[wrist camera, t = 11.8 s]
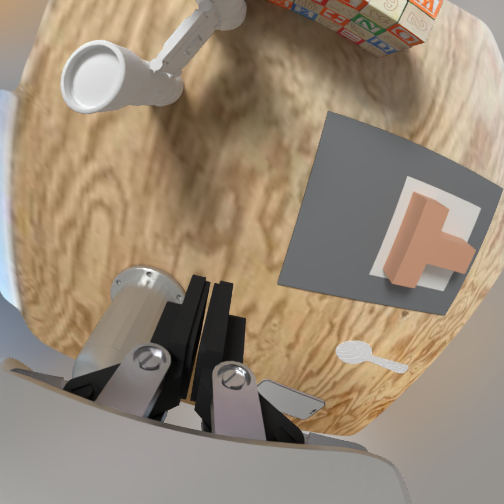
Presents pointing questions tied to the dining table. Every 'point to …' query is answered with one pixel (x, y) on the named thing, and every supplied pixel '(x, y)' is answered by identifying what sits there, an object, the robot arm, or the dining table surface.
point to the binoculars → (143, 64)
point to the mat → (379, 216)
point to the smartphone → (289, 399)
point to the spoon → (365, 356)
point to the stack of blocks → (372, 20)
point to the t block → (425, 244)
